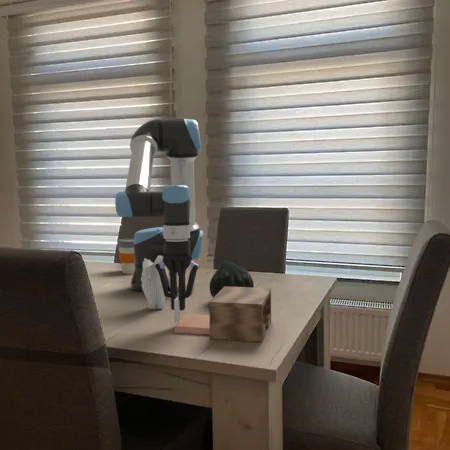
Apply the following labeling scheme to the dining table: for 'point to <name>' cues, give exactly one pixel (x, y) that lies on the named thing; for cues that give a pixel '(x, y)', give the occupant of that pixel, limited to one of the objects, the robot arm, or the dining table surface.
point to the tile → (193, 324)
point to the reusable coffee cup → (127, 255)
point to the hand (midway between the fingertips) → (178, 320)
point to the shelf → (240, 313)
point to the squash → (229, 277)
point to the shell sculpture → (153, 284)
